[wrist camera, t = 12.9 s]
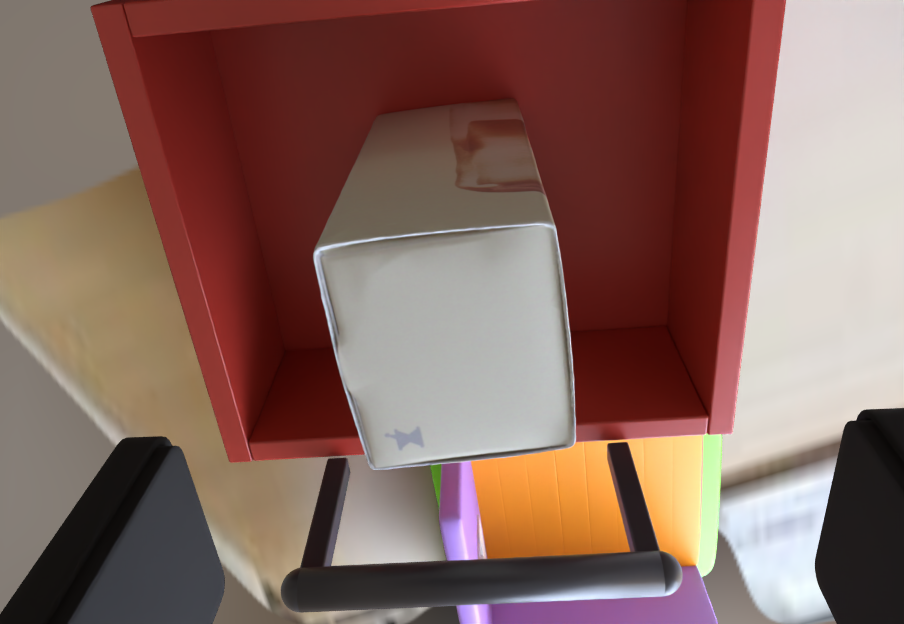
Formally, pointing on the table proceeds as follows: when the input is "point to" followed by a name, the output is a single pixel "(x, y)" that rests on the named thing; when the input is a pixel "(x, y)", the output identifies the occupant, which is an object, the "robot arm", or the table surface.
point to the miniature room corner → (586, 522)
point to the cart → (567, 190)
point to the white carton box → (448, 291)
